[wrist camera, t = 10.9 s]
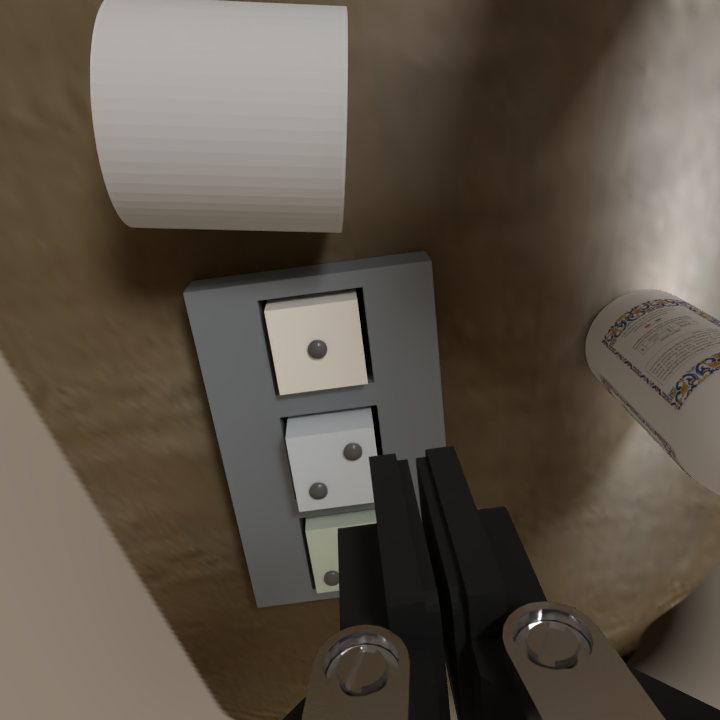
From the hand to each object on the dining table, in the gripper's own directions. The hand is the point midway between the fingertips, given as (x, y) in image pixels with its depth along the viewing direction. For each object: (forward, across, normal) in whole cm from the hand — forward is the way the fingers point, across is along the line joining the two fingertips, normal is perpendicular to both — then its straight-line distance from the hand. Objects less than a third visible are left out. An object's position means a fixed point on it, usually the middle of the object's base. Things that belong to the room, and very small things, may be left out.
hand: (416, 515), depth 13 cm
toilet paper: (+27, +5, -7) cm, 29 cm away
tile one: (+27, +3, +5) cm, 27 cm away
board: (+27, +3, +13) cm, 30 cm away
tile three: (+27, +3, +20) cm, 34 cm away
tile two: (+26, +3, +13) cm, 29 cm away
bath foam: (+27, -17, +9) cm, 33 cm away
